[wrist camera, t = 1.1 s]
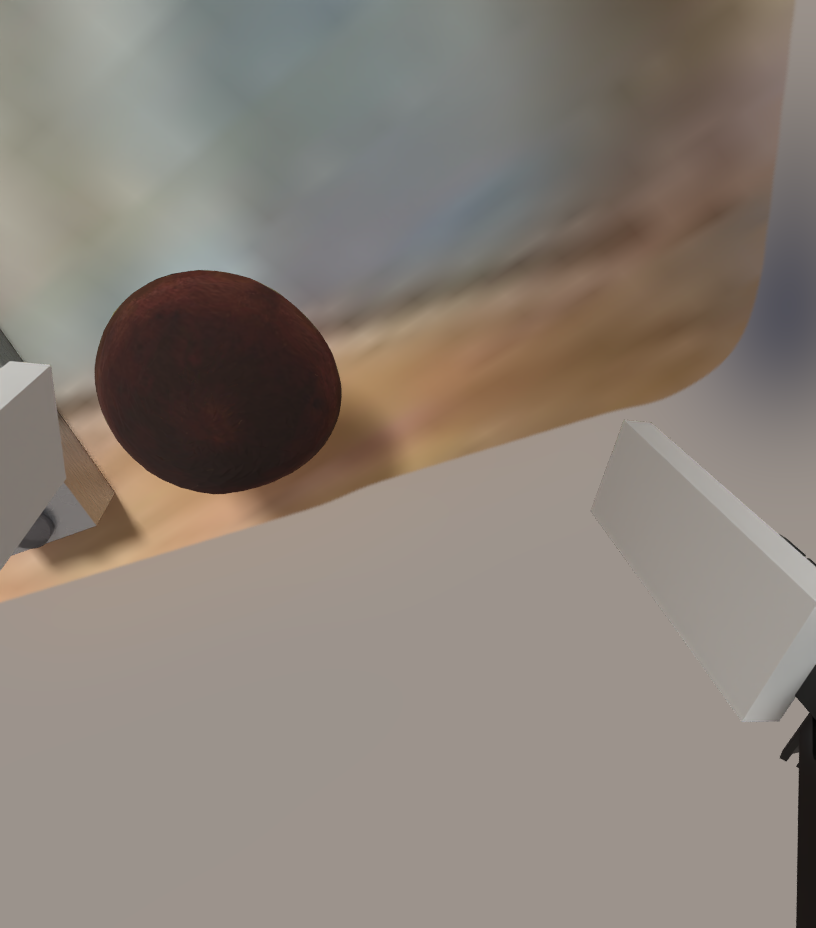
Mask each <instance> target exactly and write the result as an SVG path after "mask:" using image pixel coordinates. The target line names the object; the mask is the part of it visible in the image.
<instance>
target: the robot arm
mask: <svg viewBox="0 0 816 928" xmlns="http://www.w3.org/2000/svg"><path fill="white" fill-rule="evenodd" d="M65 480H66V474H65V466H64V459H63V451H62V444H61V436H60V429H59V422H58V414H57V407H56V399H55V392H54V384H53V377H52V370H51V365H46V364H35V363H25V362H14V361H9V362H8V363H7V364H6V365H4V366H3V367H2V368H0V570H1V569H2V568H3V566H4V565H5V563H6V562H7V561H8V559H9V558H10V556H11V555H12V554H13V552H14V551H15V549H16V548H17V547H18V545H19V544H20V542H21V541H22V540H23V538H24V537H25V535H26V534H27V533H28V531H29V530H30V528H31V527H32V526H33V524H34V523H35V521H36V520H37V519H38V517H39V516H40V515H41V513H42V512H43V510H44V509H45V508H46V506H47V505H48V503H49V502H50V501H51V499H52V498H53V496H54V495H55V494H56V492H57V491H58V489H59V488H60V487H61V485H62V484H63V482H64V481H65ZM591 512H592V514H593V515H594V516H595V518H596V519H597V521H598V522H599V523H600V525H601V526H602V528H603V529H604V530H605V532H606V533H607V534H608V536H609V537H610V539H611V540H612V542H613V543H614V544H615V546H616V547H617V549H618V550H619V551H620V553H621V554H622V556H623V557H624V558H625V560H626V561H627V562H628V564H629V565H630V566H631V568H632V569H633V571H634V572H635V574H636V575H637V576H638V578H639V579H640V581H641V582H642V583H643V585H644V586H645V588H646V589H647V590H648V592H649V593H650V594H651V596H652V597H653V599H654V600H655V602H656V603H657V604H658V606H659V607H660V608H661V609H662V611H663V613H664V614H665V616H666V617H667V618H668V620H669V621H670V622H671V624H672V625H673V627H674V628H675V629H676V631H677V632H678V634H679V635H680V636H681V638H682V639H683V641H684V642H685V643H686V645H687V646H688V648H689V649H690V650H691V652H692V653H693V654H694V656H695V657H696V659H697V660H698V662H699V663H700V664H701V666H702V667H703V669H704V670H705V671H706V673H707V674H708V676H709V677H710V678H711V680H712V681H713V682H714V684H715V685H716V686H717V688H718V689H719V691H720V692H721V694H722V695H723V696H724V698H725V699H726V701H727V702H728V703H729V705H730V706H731V708H732V709H733V710H734V712H735V713H736V715H737V716H738V717H739V719H740V720H741V721H742V722H764V721H766V722H768V721H780V719H781V718H782V716H783V715H784V713H785V712H786V710H787V709H788V707H789V706H790V704H791V703H792V702H793V700H794V699H795V697H797V698H798V700H799V701H800V702H801V703H802V704H803V705H804V707H805V708H806V709H807V710H808V711H809V712H810V713H809V714H808V716H807V717H806V718H805V720H804V721H803V722H802V724H801V725H800V727H799V728H798V730H797V731H796V732H795V734H794V735H793V737H792V738H791V739H790V741H789V742H788V744H787V745H786V747H785V748H784V749H783V751H782V753H781V756H780V758H781V759H783V760H785V761H787V760H788V759H789V757H790V756H791V755H792V754H793V753H798V752H799V763H798V764H797V766H796V767H798V768H799V796H798V857H797V858H798V859H797V917H796V918H797V919H796V928H816V564H815V563H814V562H813V561H812V560H811V559H809V558H806V557H805V556H806V555H805V554H804V553H803V552H801V551H800V550H799V549H798V548H797V547H795V546H794V545H793V544H792V543H791V542H790V541H789V540H788V539H786V538H785V537H783V536H782V535H780V534H778V533H777V532H776V531H774V530H773V529H772V528H771V527H770V526H769V525H768V524H767V523H765V522H764V521H763V520H762V519H761V518H760V517H759V516H757V515H756V514H755V513H754V512H753V511H752V510H751V509H749V508H748V507H747V506H746V505H745V504H743V503H742V502H741V501H740V500H739V499H738V498H737V497H735V495H734V494H732V493H731V492H730V491H729V490H728V489H727V488H726V487H724V486H723V485H722V484H721V483H720V482H719V481H717V480H716V479H715V478H714V477H713V476H712V475H711V474H709V473H708V472H707V471H706V470H705V469H704V468H703V467H702V466H700V465H699V464H698V463H697V462H696V461H695V460H694V459H692V458H691V457H690V456H689V455H688V454H687V453H685V451H683V450H682V449H681V448H680V447H679V446H678V445H676V444H675V443H674V442H673V441H672V440H671V439H670V438H669V437H667V436H666V435H665V434H664V433H663V432H662V431H661V430H659V429H658V428H657V427H656V426H655V425H654V424H652V423H651V422H641V421H631V420H624V421H623V423H622V426H621V429H620V432H619V434H618V437H617V440H616V443H615V445H614V449H613V451H612V454H611V457H610V459H609V462H608V465H607V467H606V470H605V473H604V476H603V479H602V481H601V484H600V487H599V490H598V492H597V495H596V498H595V501H594V503H593V506H592V509H591Z"/></svg>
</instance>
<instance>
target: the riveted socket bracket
mask: <svg viewBox="0 0 816 928" xmlns="http://www.w3.org/2000/svg"><path fill="white" fill-rule="evenodd" d="M9 361H14V362H23V361H22V360H21V358H20V357H19V355H18V354H17V353H16V351H15V350H14V348H13V347H12V346H11V344H10V343H9V341H8V340H7V338H6V337H5V336H4V334H3V333H2V331H1V330H0V368H2V367H3V366H4V365H6V364H7V363H8V362H9ZM57 414H58V422H59V429H60V436H61V444H62V451H63V459H64V466H65V474H66V480H65V481H64V482H63V484H62V485H61V487H60V488H59V489H58V491H57V492H56V494H55V495H54V496H53V498H52V499H51V501H50V502H49V503H48V505H47V506H46V508H45V509H44V510H43V512H42V513H41V515H40V516H39V517H38V519H37V520H36V521H35V523H34V524H33V526H32V527H31V528H30V530H29V531H28V533H27V534H26V535H25V537H24V538H23V540H22V541H21V542H20V544H19V545H18V547H17V548H16V549H15V551H14V552H13V554H12V555H15V554H17V553H20V552H23V551H26V550H29V549H33V548H38V547H41V546H43V545H44V544H46V543H49V542H52V541H54V540H57V539H60V538H63V537H66V536H69V535H71V534H74V533H77V532H80V531H83V530H86V529H88V528H91V527H94V526H97V524H98V522H99V520H100V518H101V517H102V515H103V513H104V511H105V510H106V508H107V506H108V504H109V502H110V501H111V499H112V497H113V495H114V494H115V492H114V491H113V490H112V488H111V487H110V485H109V484H108V482H107V481H106V480H105V478H104V477H103V475H102V474H101V472H100V471H99V470H98V468H97V467H96V465H95V464H94V462H93V461H92V460H91V458H90V457H89V455H88V454H87V452H86V451H85V450H84V448H83V447H82V445H81V444H80V443H79V441H78V440H77V438H76V437H75V435H74V434H73V433H72V431H71V430H70V428H69V427H68V425H67V424H66V423H65V421H64V420H63V418H62V417H61V415H60V414H59V413H58V411H57ZM12 555H11V556H12Z"/></svg>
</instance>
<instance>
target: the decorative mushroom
mask: <svg viewBox="0 0 816 928" xmlns="http://www.w3.org/2000/svg"><path fill="white" fill-rule="evenodd" d="M95 385H96V392H97V396H98V400H99V404H100V407H101V410H102V413H103V415H104V418H105V420H106V422H107V424H108V425H109V427H110V429H111V431H112V432H113V434H114V436H115V437H116V439H117V441H118V442H119V443H120V444H121V446H122V447H123V448H124V449H125V450H126V451H127V452H128V453H129V455H130V456H131V457H132V458H133V459H134V460H136V461H137V462H138V463H139V464H140V465H142V466H143V467H144V468H145V469H146V470H147V471H149V472H150V473H152V474H154V475H156V476H157V477H159V478H161V479H162V480H164V481H167V482H169V483H172V484H174V485H176V486H179V487H181V488H185V489H189V490H193V491H196V492H202V493H209V494H226V493H232V492H239V491H244V490H248V489H252V488H256V487H259V486H262V485H266V484H269V483H271V482H274V481H276V480H278V479H280V478H282V477H284V476H286V475H288V474H290V473H292V472H294V471H295V470H297V469H298V468H300V467H301V466H303V465H304V464H305V463H307V462H308V461H309V460H310V459H311V458H312V457H313V456H314V455H316V454H317V453H318V451H319V450H320V449H321V448H322V447H323V446H324V444H325V443H326V441H327V440H328V438H329V436H330V435H331V433H332V431H333V429H334V427H335V424H336V422H337V419H338V416H339V412H340V406H341V382H340V377H339V373H338V369H337V366H336V363H335V360H334V357H333V354H332V352H331V350H330V349H329V347H328V345H327V343H326V342H325V340H324V338H323V337H322V335H321V334H320V332H319V331H318V330H317V328H316V327H315V326H314V325H313V324H312V323H311V322H310V320H309V319H308V318H307V317H306V316H305V315H304V314H303V313H302V312H301V311H300V310H299V309H297V308H296V307H295V306H294V305H293V304H292V303H291V302H289V301H288V300H287V299H286V298H284V297H283V296H282V295H281V294H279V293H278V292H276V291H275V290H273V289H271V288H269V287H267V286H265V285H263V284H261V283H259V282H257V281H255V280H253V279H251V278H247V277H243V276H240V275H235V274H231V273H227V272H219V271H208V270H195V271H187V272H181V273H175V274H171V275H167V276H164V277H161V278H158V279H156V280H154V281H152V282H150V283H148V284H147V285H145V286H143V287H142V288H140V289H139V290H137V291H135V292H134V293H133V294H132V295H130V296H129V297H128V298H127V299H126V300H125V301H124V302H123V303H122V304H121V305H120V306H119V307H118V309H117V310H116V311H115V312H114V313H113V315H112V317H111V319H110V321H109V323H108V324H107V326H106V328H105V330H104V332H103V335H102V338H101V340H100V344H99V347H98V351H97V356H96V362H95Z"/></svg>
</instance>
